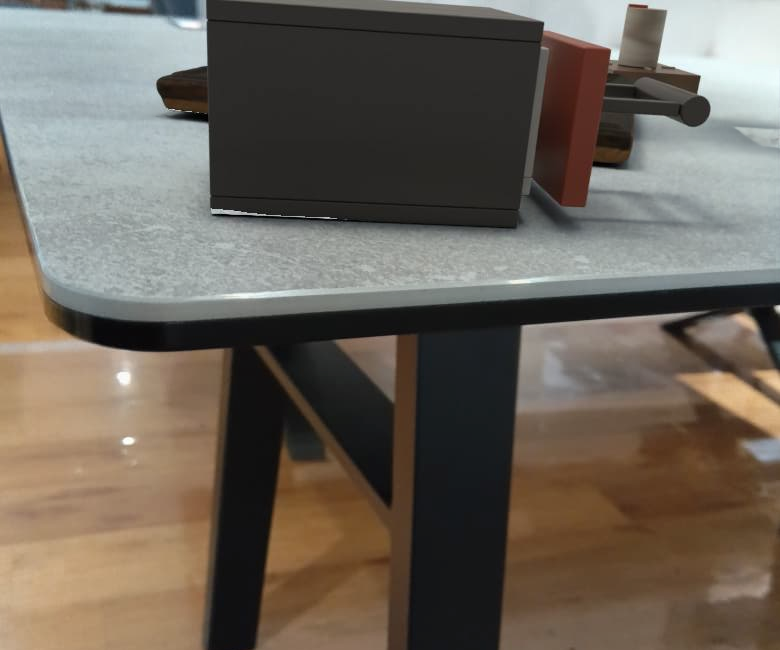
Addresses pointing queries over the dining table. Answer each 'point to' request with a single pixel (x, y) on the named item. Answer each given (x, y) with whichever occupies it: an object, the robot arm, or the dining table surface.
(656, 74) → the panel
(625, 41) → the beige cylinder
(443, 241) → the dining table surface
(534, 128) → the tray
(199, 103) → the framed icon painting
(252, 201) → the dark grey lidded box
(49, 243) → the dining table surface
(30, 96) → the dining table surface
